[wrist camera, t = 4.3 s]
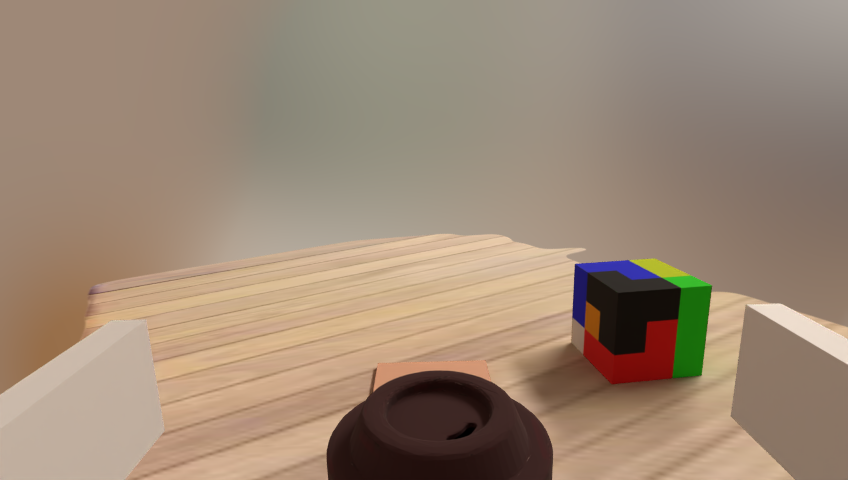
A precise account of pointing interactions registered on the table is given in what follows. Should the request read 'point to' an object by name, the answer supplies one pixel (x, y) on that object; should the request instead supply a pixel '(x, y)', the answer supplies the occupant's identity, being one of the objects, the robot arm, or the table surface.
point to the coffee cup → (439, 433)
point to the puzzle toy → (640, 319)
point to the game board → (428, 369)
